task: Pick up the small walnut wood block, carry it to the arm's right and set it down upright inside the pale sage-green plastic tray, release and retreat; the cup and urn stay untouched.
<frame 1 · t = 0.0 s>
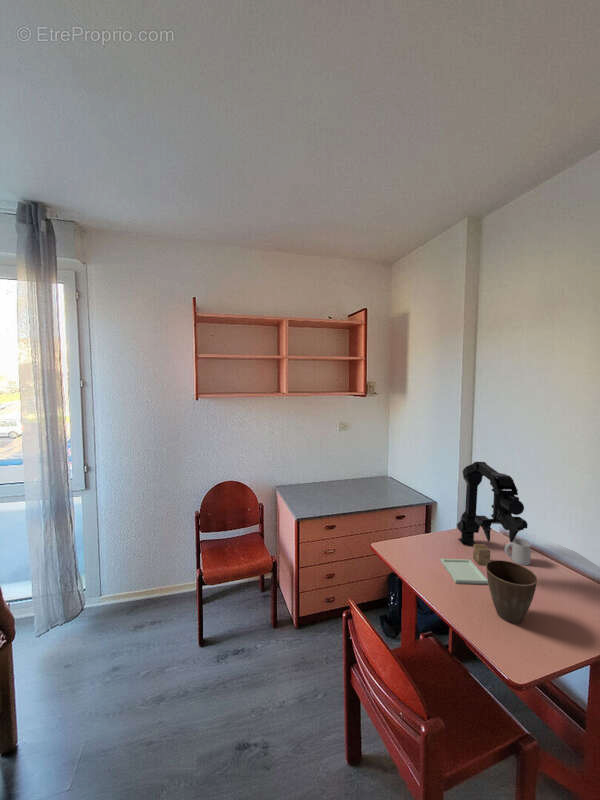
hand: (499, 541, 137), 15 cm above the table, fingers open, 9 cm apart
plant pot: (508, 616, 114), on the table
walnut block: (481, 562, 148), on the table
cup: (516, 561, 149), on the table
tray: (463, 572, 140), on the table
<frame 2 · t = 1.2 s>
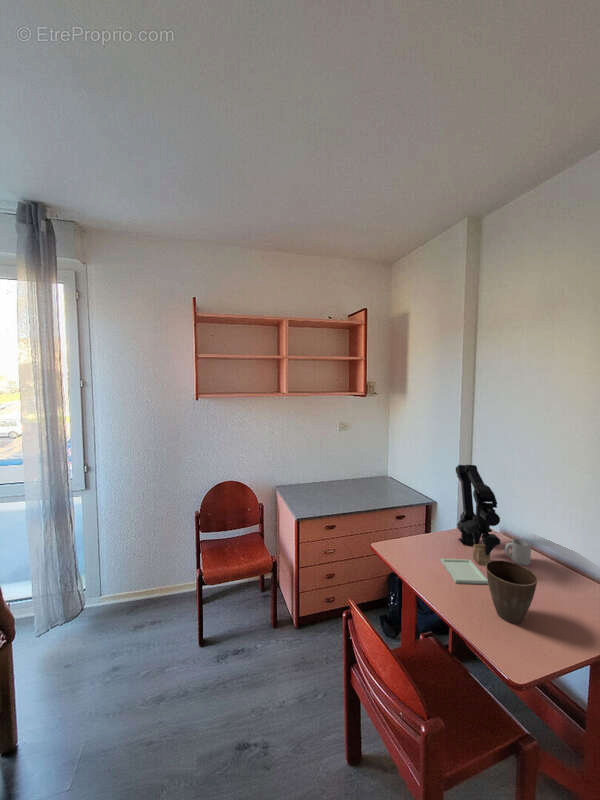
hand: (481, 549, 148), 6 cm above the table, fingers open, 9 cm apart
nothing on the table moved.
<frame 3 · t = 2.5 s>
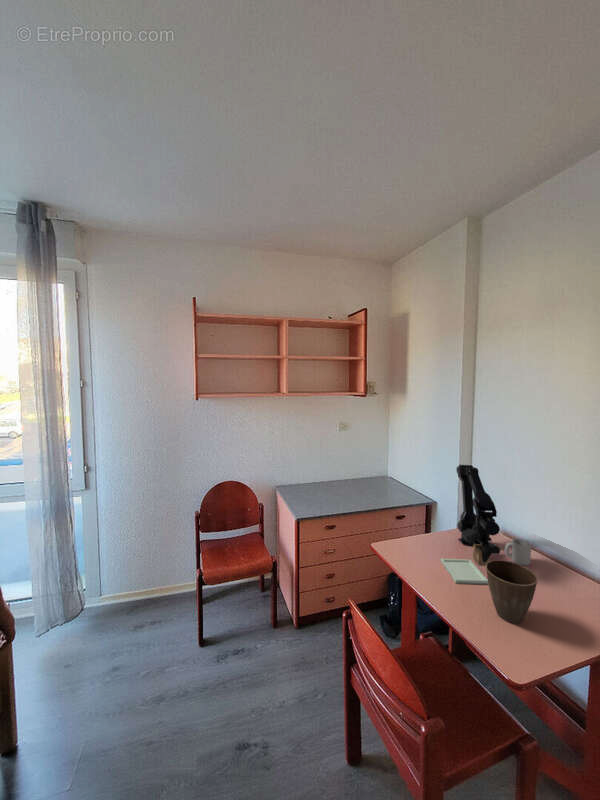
hand: (481, 558, 148), 2 cm above the table, fingers closed on walnut block, 5 cm apart
walnut block: (481, 561, 148), on the table, touching gripper
everything else where it was.
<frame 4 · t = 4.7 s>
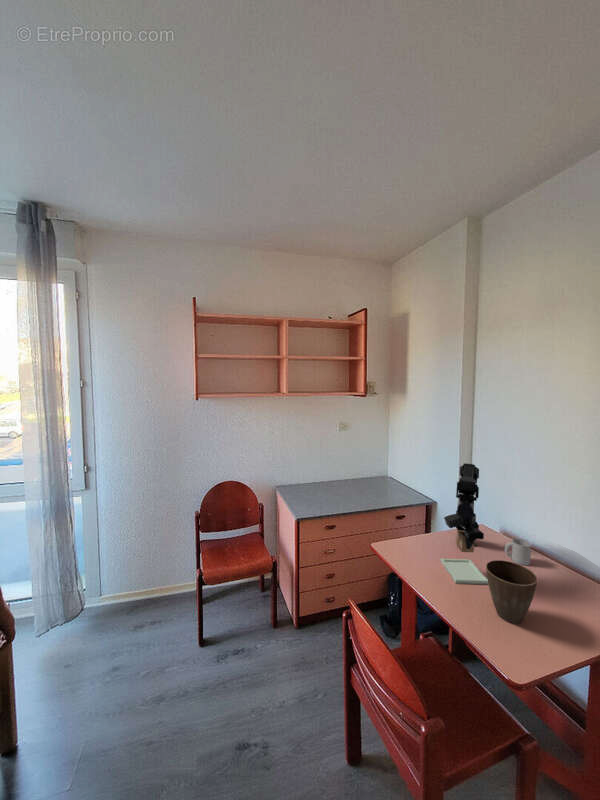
hand: (465, 545, 139), 12 cm above the table, fingers closed on walnut block, 5 cm apart
walnut block: (465, 549, 139), point 10 cm above the table, touching gripper
everything else where it was.
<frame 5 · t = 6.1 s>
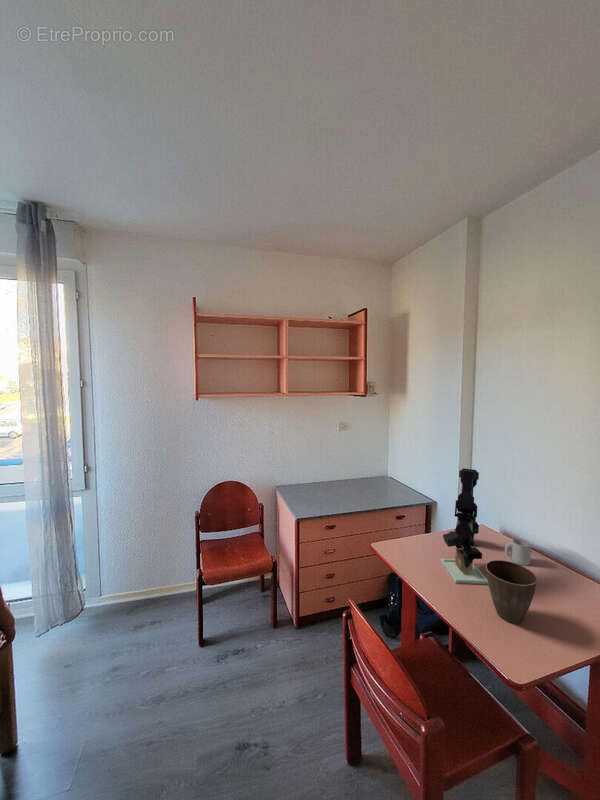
hand: (463, 563, 139), 4 cm above the table, fingers closed on walnut block, 5 cm apart
walnut block: (463, 567, 140), point 2 cm above the table, touching gripper
everything else where it was.
when the fingers open (3 cm above the table, at t = 7.1 s): walnut block drops 1 cm, resting on tray.
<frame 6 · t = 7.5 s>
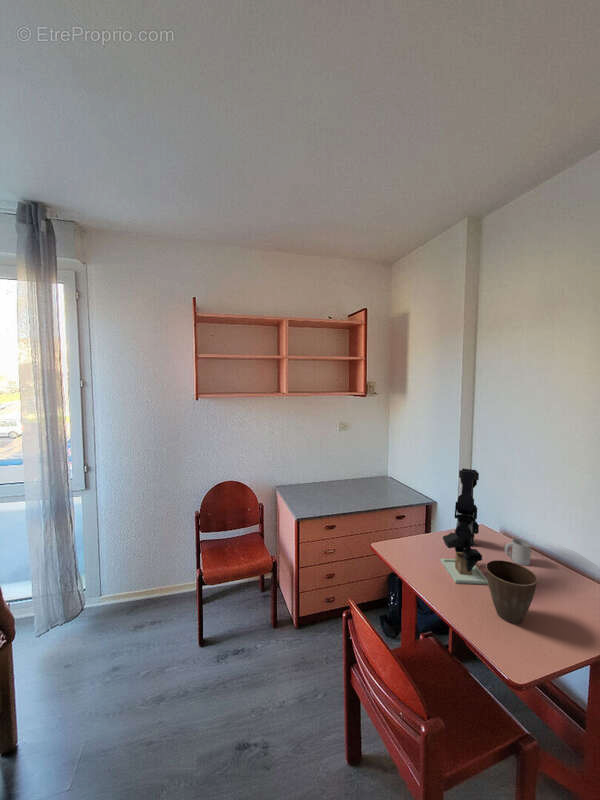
hand: (463, 565, 139), 3 cm above the table, fingers open, 9 cm apart
walnut block: (463, 571, 140), point 1 cm above the table, touching tray
everything else where it was.
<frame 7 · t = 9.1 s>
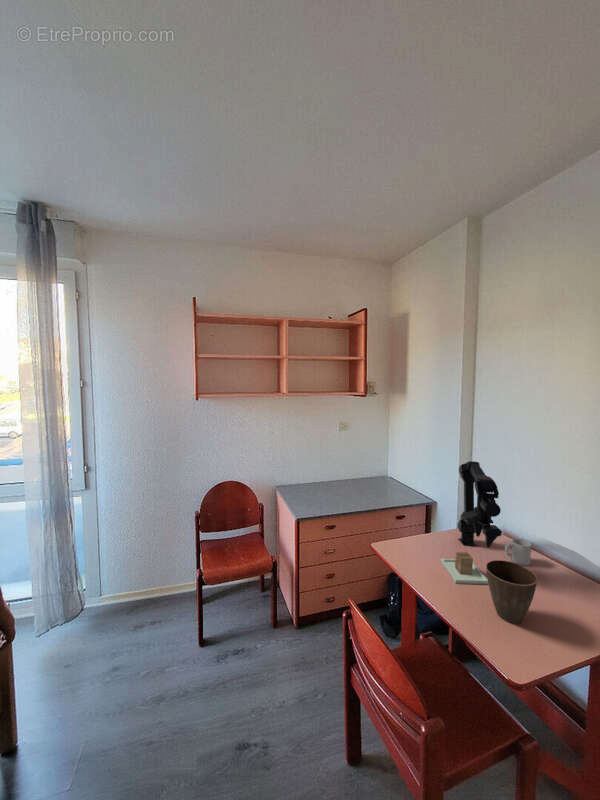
hand: (482, 541, 143), 12 cm above the table, fingers open, 9 cm apart
nothing on the table moved.
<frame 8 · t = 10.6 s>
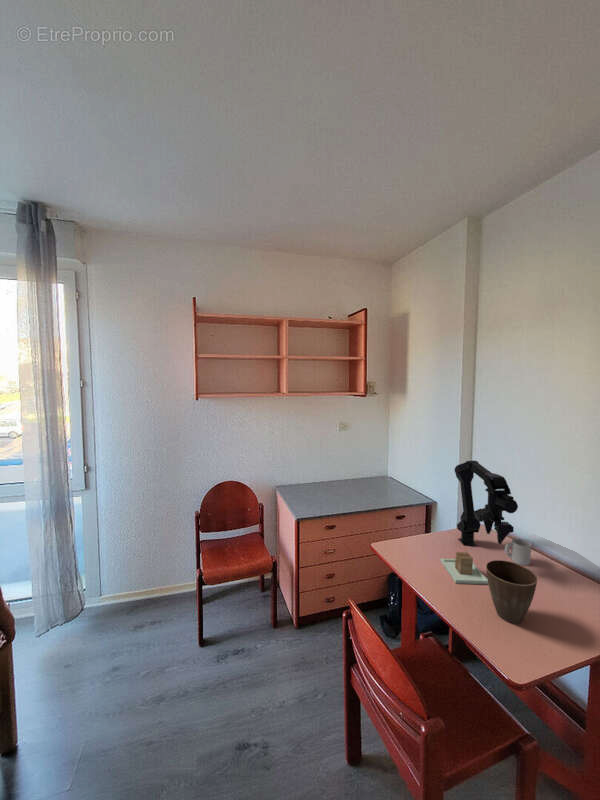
hand: (493, 538, 145), 12 cm above the table, fingers open, 9 cm apart
nothing on the table moved.
at the end: walnut block inside the target area on the tray (0.1 cm from its centre), point 0.6 cm above the tray's base; walnut block tilted 0°; the gripper is holding nothing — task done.
